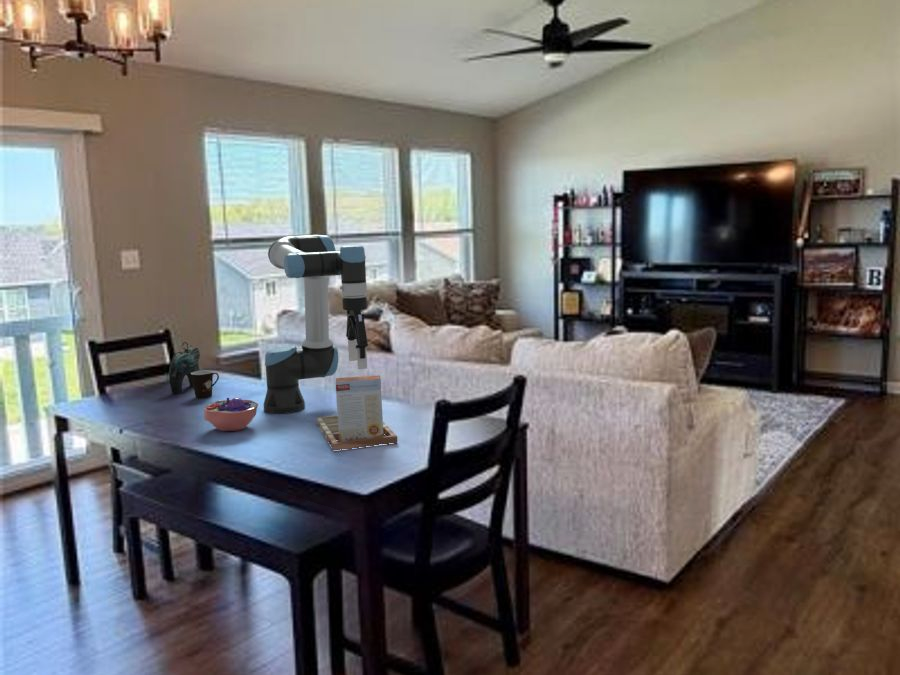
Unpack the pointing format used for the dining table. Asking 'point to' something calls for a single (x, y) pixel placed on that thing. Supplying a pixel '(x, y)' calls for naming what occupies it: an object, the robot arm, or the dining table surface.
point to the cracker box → (359, 407)
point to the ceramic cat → (183, 367)
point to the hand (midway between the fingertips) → (357, 364)
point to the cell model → (230, 413)
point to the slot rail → (332, 438)
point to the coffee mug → (203, 383)
